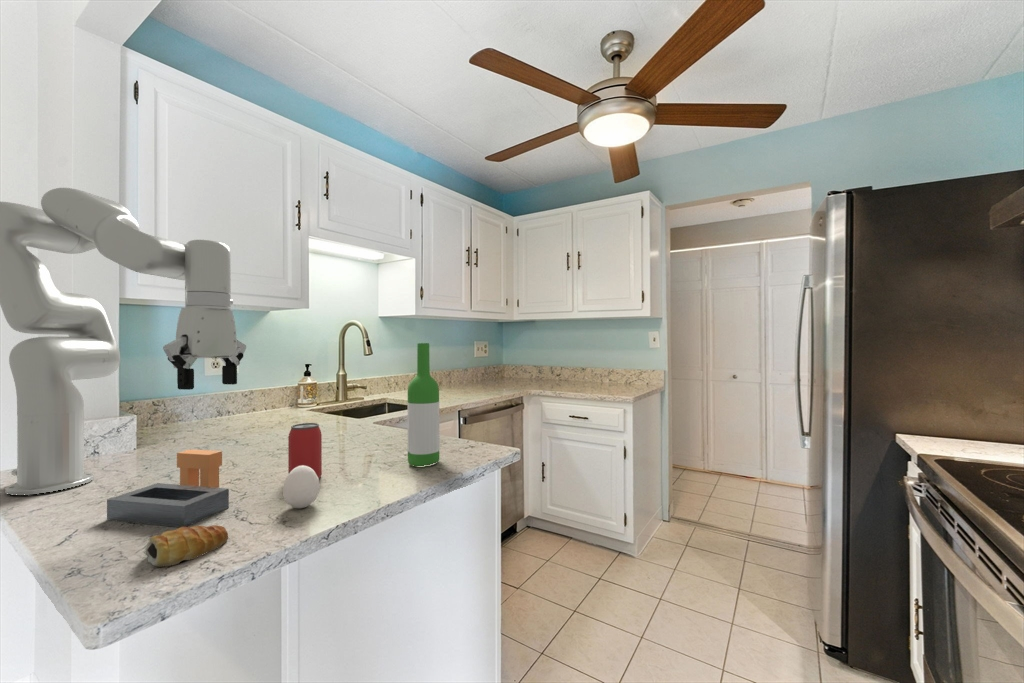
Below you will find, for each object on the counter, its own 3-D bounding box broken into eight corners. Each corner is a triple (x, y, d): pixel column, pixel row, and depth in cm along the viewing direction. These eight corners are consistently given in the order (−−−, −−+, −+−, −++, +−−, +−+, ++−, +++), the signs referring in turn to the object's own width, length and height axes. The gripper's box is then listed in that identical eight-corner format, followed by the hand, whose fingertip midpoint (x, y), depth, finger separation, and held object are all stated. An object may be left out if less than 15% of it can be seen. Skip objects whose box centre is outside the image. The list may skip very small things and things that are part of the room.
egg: (324, 507, 77) (324, 466, 77) (287, 517, 73) (287, 473, 73) (314, 498, 82) (313, 459, 82) (279, 506, 78) (278, 465, 78)
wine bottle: (433, 458, 110) (433, 343, 110) (444, 465, 103) (443, 343, 103) (403, 462, 106) (403, 343, 106) (412, 470, 99) (412, 343, 99)
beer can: (308, 485, 89) (308, 428, 89) (281, 483, 90) (281, 427, 90) (327, 475, 96) (327, 422, 96) (302, 474, 97) (302, 421, 97)
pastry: (217, 534, 67) (217, 510, 67) (236, 546, 63) (236, 521, 63) (140, 559, 59) (140, 532, 59) (157, 575, 55) (157, 546, 55)
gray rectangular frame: (106, 519, 72) (106, 499, 72) (157, 501, 80) (157, 483, 80) (184, 527, 69) (184, 506, 69) (228, 507, 77) (228, 488, 77)
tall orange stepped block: (176, 489, 87) (176, 452, 87) (190, 484, 90) (190, 449, 90) (209, 491, 85) (209, 454, 85) (222, 486, 88) (222, 451, 88)
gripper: (229, 306, 95) (230, 382, 95) (149, 298, 78) (149, 391, 78) (258, 305, 93) (258, 382, 93) (181, 297, 76) (182, 392, 76)
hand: (208, 386), depth 86 cm, fingers open, 9 cm apart
